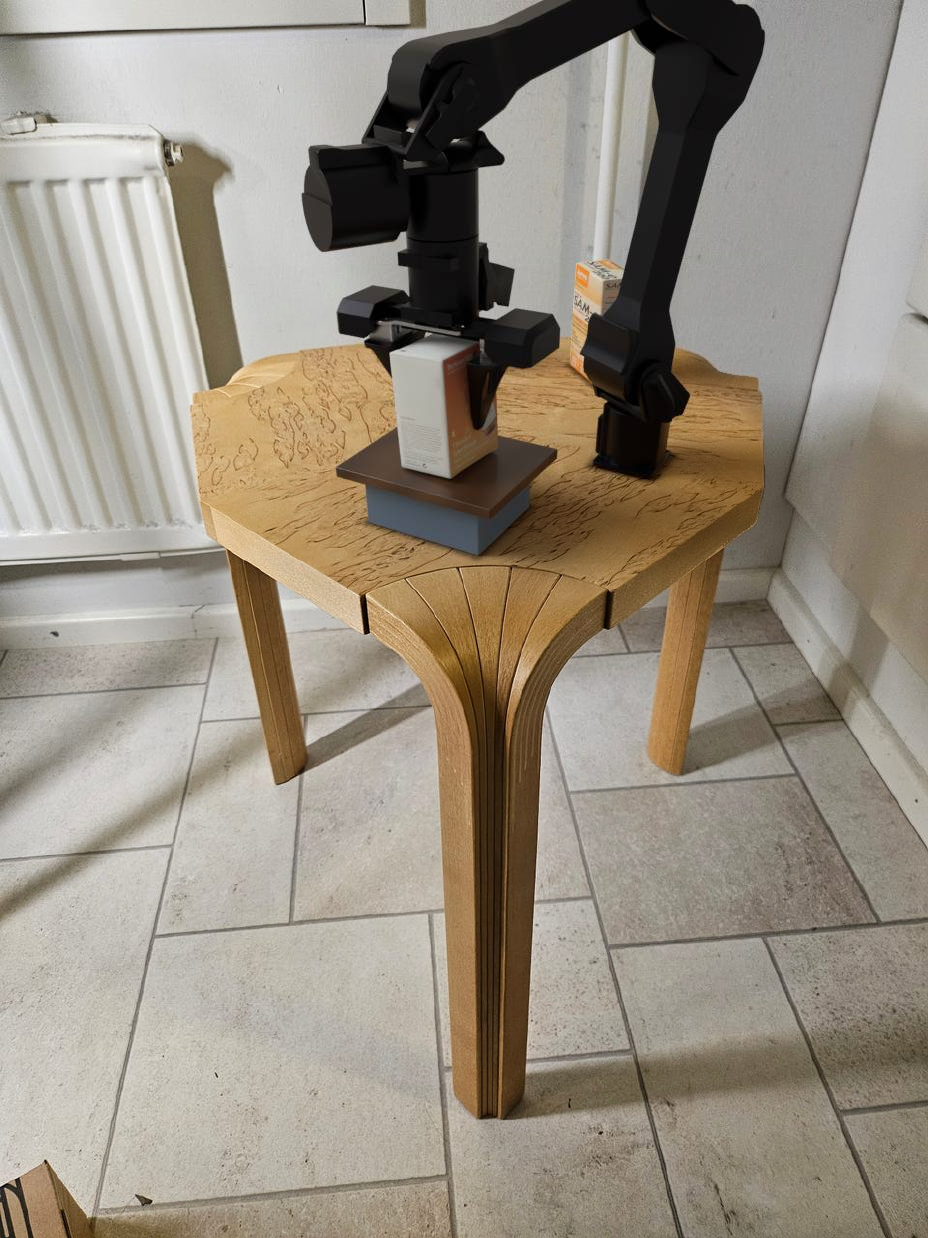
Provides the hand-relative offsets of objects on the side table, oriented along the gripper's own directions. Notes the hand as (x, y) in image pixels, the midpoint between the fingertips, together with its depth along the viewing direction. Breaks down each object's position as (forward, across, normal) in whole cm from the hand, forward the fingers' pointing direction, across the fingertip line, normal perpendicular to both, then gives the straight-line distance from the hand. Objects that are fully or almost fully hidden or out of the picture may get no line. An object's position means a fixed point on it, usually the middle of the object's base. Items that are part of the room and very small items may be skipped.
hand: (447, 421), depth 76 cm
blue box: (+10, 0, 0) cm, 10 cm away
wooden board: (+5, 0, 0) cm, 5 cm away
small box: (+4, 0, 0) cm, 4 cm away
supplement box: (+10, +2, -40) cm, 41 cm away
